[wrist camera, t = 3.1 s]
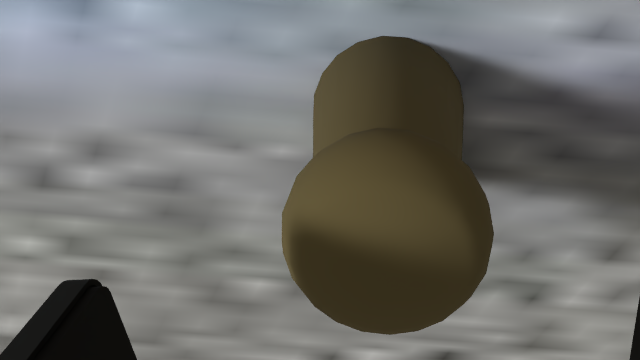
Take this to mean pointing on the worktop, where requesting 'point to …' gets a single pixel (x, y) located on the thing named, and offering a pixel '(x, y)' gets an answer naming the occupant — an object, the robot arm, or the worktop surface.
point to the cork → (387, 193)
